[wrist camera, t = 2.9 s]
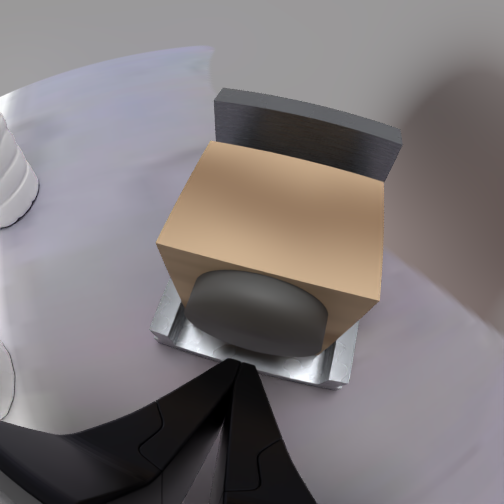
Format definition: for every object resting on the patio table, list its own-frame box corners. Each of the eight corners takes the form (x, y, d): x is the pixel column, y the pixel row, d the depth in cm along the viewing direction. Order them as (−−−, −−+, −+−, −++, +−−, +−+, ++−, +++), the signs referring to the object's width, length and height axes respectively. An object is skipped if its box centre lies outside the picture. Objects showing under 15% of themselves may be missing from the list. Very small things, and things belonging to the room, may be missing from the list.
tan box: (313, 376, 15) (375, 338, 8) (183, 341, 16) (139, 276, 9) (333, 274, 18) (383, 182, 11) (219, 244, 19) (210, 140, 12)
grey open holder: (335, 390, 16) (404, 365, 9) (158, 342, 17) (104, 285, 10) (360, 212, 22) (400, 129, 15) (225, 179, 23) (223, 87, 16)
